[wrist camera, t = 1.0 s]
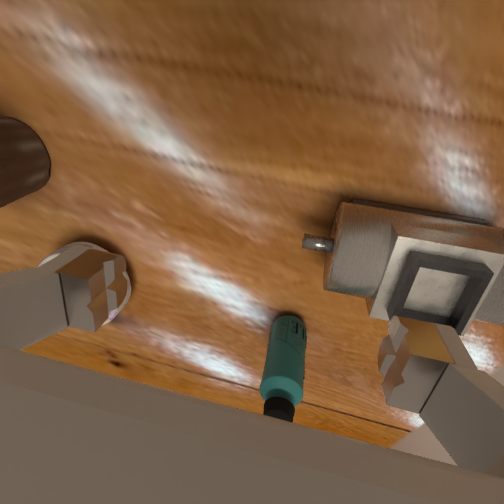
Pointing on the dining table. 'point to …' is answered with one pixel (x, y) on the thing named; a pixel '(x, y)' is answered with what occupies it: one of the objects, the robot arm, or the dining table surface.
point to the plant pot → (20, 161)
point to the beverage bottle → (284, 368)
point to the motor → (415, 263)
